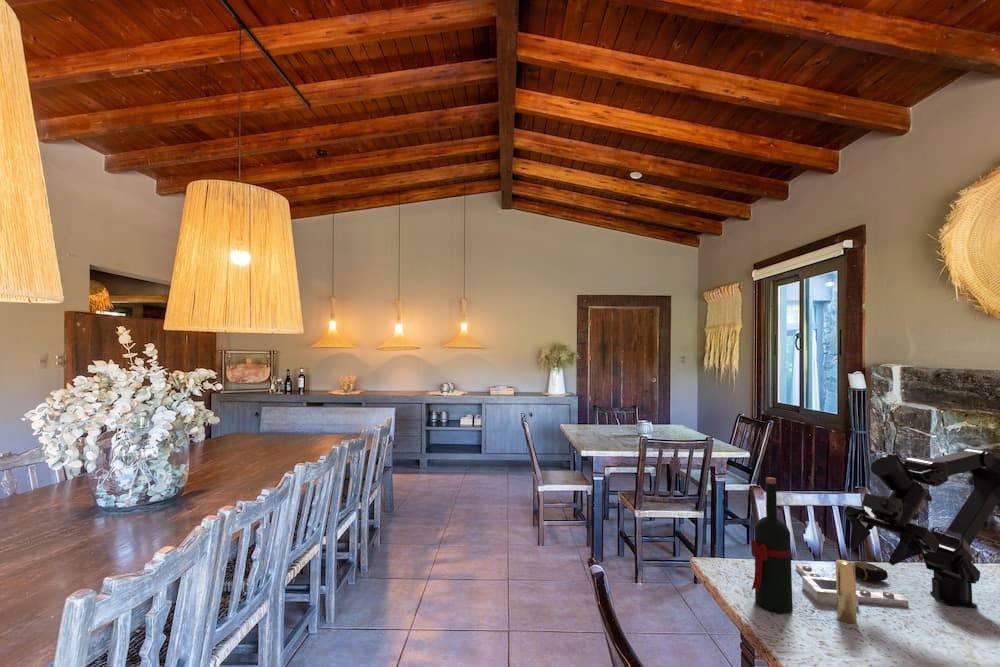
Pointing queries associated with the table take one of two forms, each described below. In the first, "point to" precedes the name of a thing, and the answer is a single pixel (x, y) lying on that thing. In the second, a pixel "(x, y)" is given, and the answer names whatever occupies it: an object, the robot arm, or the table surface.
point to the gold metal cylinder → (846, 591)
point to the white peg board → (827, 595)
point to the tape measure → (869, 572)
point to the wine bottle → (772, 558)
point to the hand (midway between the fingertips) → (870, 556)
